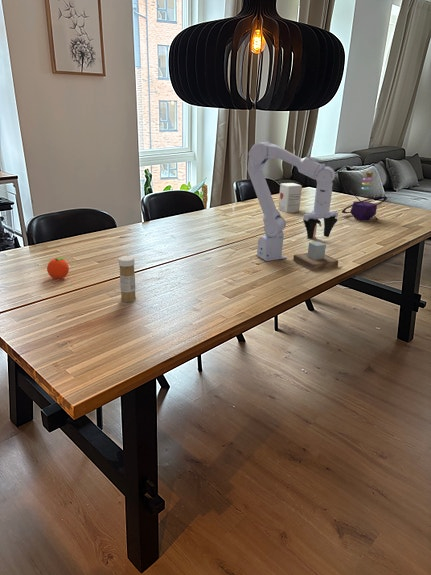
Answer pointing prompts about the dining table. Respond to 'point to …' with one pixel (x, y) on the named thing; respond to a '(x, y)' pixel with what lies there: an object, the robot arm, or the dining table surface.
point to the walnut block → (315, 262)
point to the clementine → (58, 268)
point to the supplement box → (289, 197)
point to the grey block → (316, 250)
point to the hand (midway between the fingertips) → (318, 237)
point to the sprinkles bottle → (127, 278)
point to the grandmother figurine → (315, 227)
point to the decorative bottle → (364, 203)
